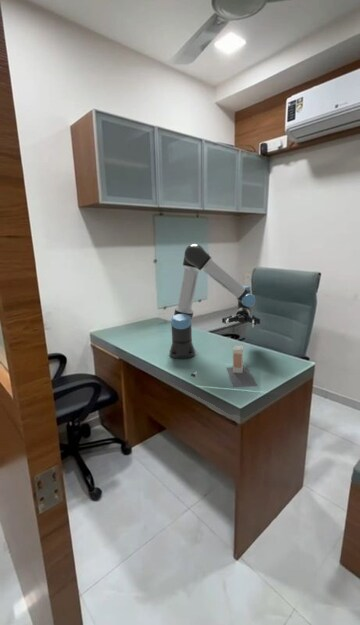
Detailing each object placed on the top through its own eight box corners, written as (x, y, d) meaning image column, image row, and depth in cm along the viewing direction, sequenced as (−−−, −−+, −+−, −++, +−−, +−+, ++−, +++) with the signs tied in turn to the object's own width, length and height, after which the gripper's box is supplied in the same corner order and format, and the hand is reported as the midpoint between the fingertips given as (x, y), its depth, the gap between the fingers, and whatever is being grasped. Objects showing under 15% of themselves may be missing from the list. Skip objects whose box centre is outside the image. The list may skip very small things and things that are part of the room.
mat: (226, 368, 159) (226, 367, 158) (247, 367, 158) (247, 366, 158) (233, 388, 137) (233, 386, 137) (257, 387, 137) (257, 386, 137)
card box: (234, 367, 158) (234, 345, 155) (242, 368, 157) (243, 346, 154) (232, 372, 152) (232, 349, 149) (242, 373, 151) (242, 350, 148)
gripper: (264, 322, 176) (264, 332, 156) (221, 320, 183) (215, 330, 163) (264, 309, 174) (264, 318, 154) (221, 308, 181) (215, 317, 161)
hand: (239, 324), depth 159 cm, fingers open, 13 cm apart
